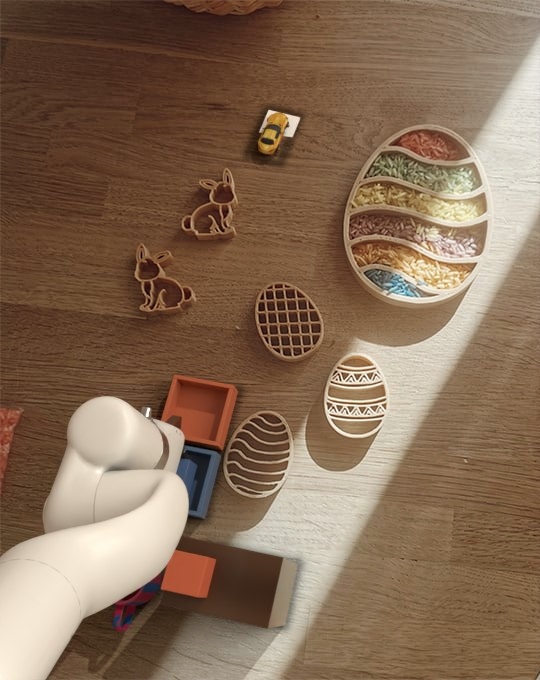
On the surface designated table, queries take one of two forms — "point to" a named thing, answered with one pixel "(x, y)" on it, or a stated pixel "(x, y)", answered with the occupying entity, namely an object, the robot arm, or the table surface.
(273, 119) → the toy car
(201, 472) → the slate bin
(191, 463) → the blue cube
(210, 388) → the terracotta bin
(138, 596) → the mug
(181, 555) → the terracotta block
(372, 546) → the table surface
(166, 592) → the stand
